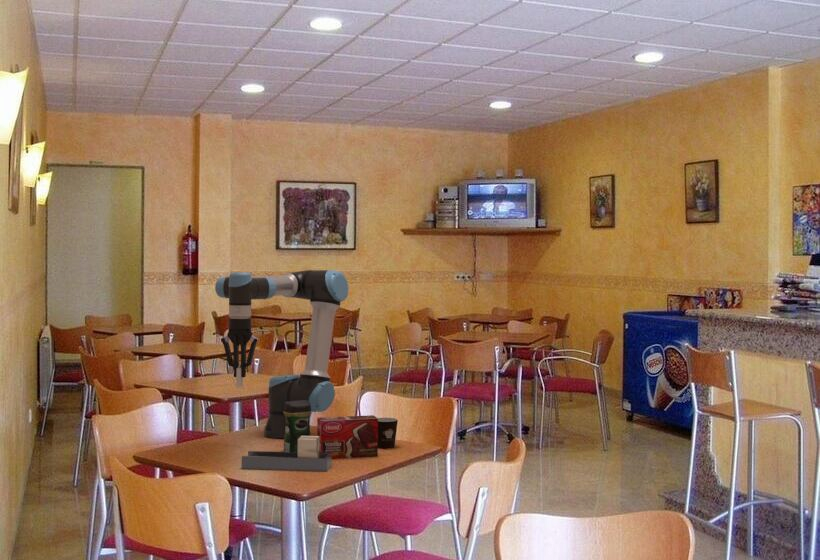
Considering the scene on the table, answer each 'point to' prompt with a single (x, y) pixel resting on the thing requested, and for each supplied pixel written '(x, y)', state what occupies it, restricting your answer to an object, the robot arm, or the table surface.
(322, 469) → the chute
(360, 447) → the ice cream box
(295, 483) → the table surface
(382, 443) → the coffee mug
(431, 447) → the table surface
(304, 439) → the block
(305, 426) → the coffee jar
